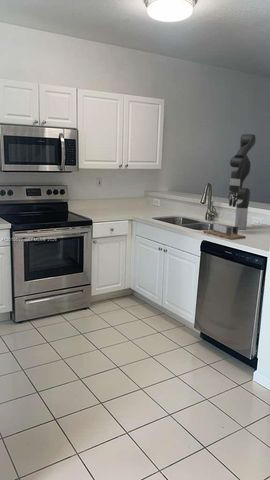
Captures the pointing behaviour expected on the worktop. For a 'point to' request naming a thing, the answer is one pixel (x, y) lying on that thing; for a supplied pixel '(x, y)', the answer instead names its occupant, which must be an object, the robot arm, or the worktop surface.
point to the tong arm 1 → (222, 229)
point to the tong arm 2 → (233, 228)
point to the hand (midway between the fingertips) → (232, 206)
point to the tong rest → (223, 235)
